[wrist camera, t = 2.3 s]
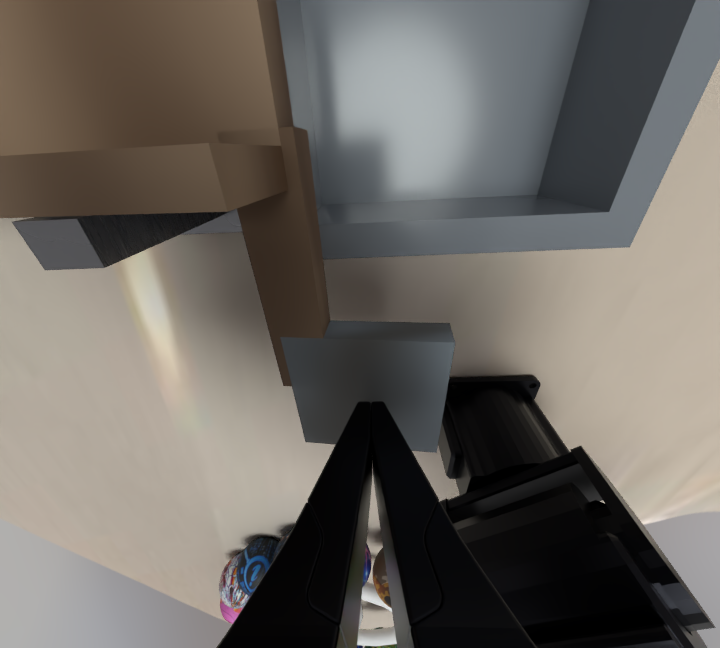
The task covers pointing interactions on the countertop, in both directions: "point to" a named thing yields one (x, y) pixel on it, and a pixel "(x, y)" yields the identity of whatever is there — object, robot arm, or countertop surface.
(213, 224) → the lever stand
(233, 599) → the decorated egg ring holder
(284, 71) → the tipping lever
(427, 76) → the grey open tray
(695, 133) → the countertop surface
